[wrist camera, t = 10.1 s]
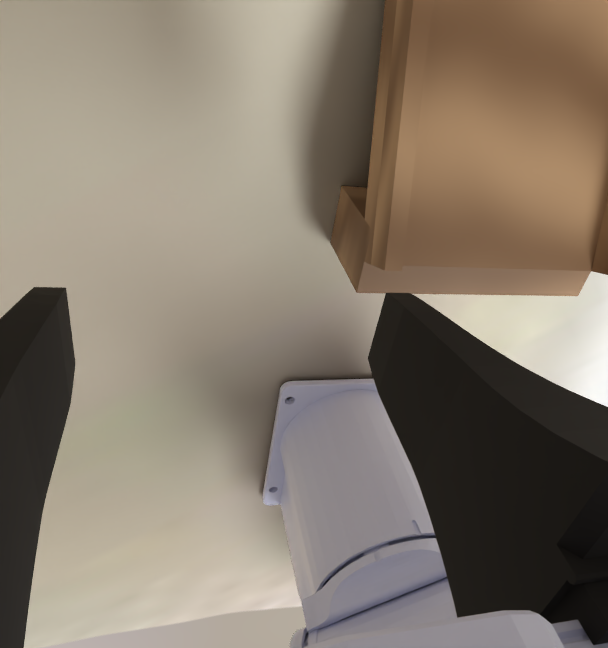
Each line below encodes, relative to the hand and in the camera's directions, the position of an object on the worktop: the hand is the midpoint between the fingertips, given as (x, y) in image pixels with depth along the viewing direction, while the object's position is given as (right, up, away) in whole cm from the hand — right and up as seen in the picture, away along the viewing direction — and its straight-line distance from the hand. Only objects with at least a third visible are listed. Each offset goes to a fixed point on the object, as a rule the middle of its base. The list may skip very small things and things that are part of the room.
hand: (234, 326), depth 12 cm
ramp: (+8, +10, +8) cm, 15 cm away
